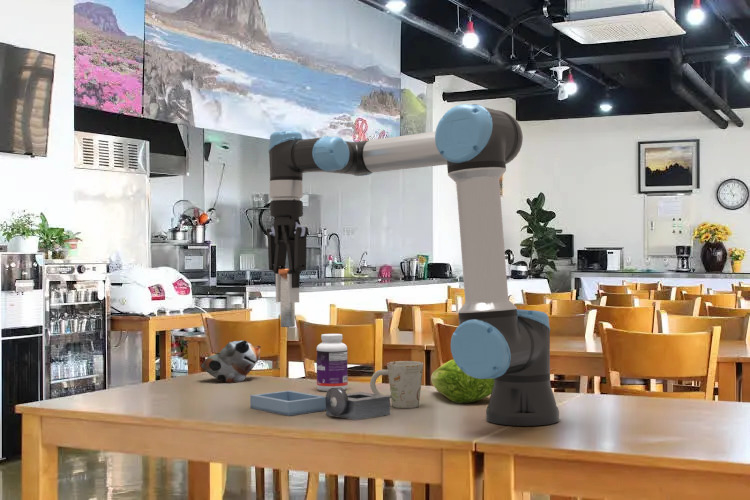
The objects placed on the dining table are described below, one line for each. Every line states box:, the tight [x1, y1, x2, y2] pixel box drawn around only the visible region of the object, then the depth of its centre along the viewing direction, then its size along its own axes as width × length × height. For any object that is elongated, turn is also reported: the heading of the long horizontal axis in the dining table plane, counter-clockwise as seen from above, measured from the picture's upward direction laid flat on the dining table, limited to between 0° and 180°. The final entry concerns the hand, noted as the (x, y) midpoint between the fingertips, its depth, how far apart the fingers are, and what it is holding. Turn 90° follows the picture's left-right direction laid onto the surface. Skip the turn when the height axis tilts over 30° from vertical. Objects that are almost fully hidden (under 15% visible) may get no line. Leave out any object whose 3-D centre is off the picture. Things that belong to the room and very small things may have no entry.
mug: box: [369, 360, 424, 409], centre depth 229 cm, size 8×13×10 cm, turn 78°
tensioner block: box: [325, 387, 391, 421], centre depth 217 cm, size 10×12×6 cm
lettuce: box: [430, 359, 494, 404], centre depth 240 cm, size 12×24×13 cm
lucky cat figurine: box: [200, 340, 262, 384], centre depth 279 cm, size 15×12×14 cm
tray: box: [249, 390, 326, 417], centre depth 226 cm, size 15×11×3 cm
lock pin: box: [278, 268, 296, 328], centre depth 226 cm, size 4×4×13 cm
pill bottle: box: [315, 333, 349, 392], centre depth 257 cm, size 8×8×14 cm
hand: (287, 301), depth 226 cm, fingers closed on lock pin, 4 cm apart
